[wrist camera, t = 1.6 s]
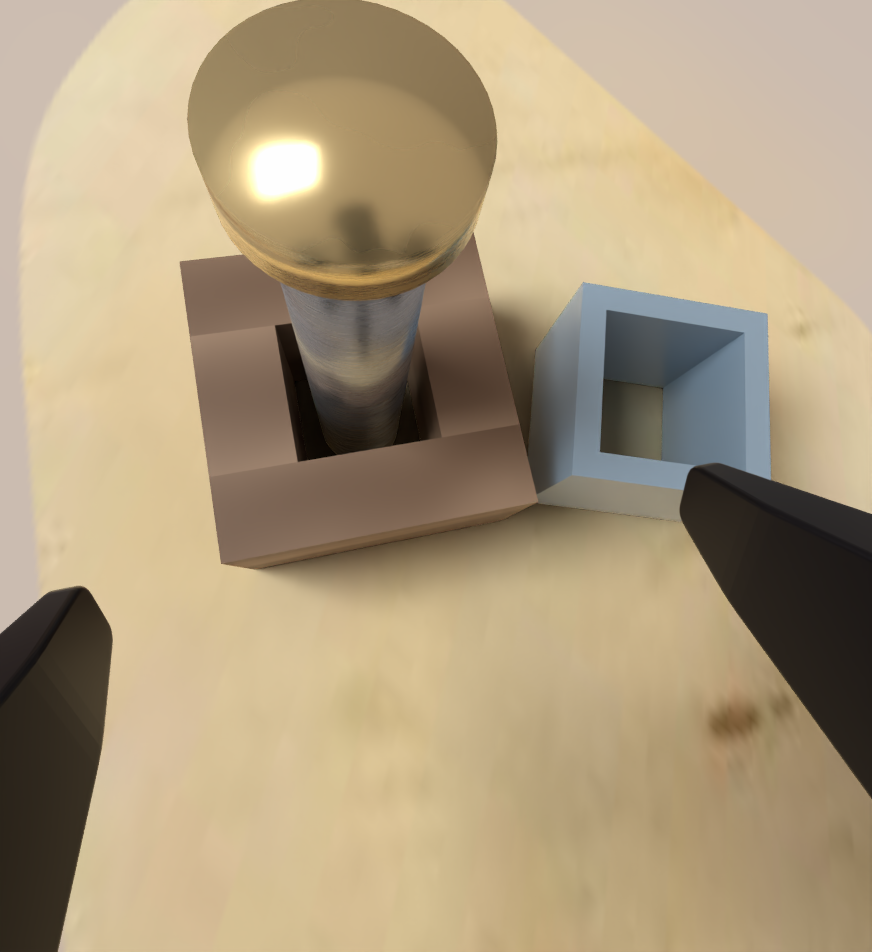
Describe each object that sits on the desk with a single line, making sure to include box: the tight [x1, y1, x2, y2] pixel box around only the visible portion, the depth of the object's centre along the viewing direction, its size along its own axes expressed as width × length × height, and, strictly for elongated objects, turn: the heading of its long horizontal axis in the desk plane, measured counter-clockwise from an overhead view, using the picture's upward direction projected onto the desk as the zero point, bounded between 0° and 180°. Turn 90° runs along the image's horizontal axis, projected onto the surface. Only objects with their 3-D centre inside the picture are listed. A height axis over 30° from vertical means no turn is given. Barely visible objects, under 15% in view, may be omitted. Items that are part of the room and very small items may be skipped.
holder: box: [528, 282, 771, 522], centre depth 19 cm, size 6×6×5 cm
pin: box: [187, 0, 497, 455], centre depth 14 cm, size 4×4×14 cm
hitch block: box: [180, 233, 538, 569], centre depth 18 cm, size 9×9×4 cm
